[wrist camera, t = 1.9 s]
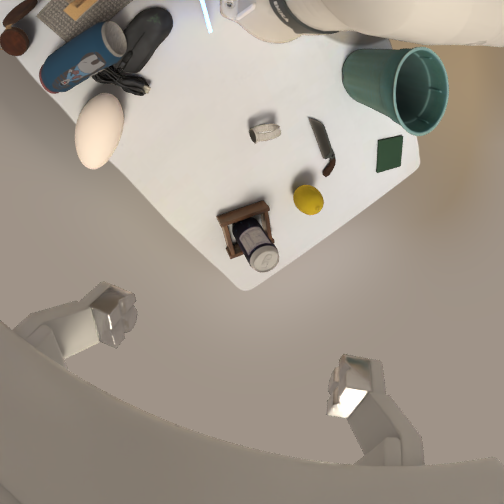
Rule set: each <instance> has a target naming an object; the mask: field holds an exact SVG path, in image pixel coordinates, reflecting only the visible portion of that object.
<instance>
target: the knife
mask: <svg viewBox="0 0 504 504" xmlns="http://www.w3.org/2000/svg"><path fill="white" fill-rule="evenodd" d="M309 121H310V123H311V126H312V129H313V131H314V134H315V137H316V140H317V142H318V145H319V148H320V151H321V154H322V157H323V158H324V159H327V158H330V163H329V165H328V166H327V167H326V168H325V169H324V171H323V175H324V176H325V177H327V176H328V175H330V173H331V172H332V170H333V168H334V166H335V162H336V160H335V154H334V152H333V150H332V148H331V145H330V141H329V138H328V135H327V133H326V130H325V127H324V125H323V124H322V123H321V122H319V121H316V120H314V119H309ZM331 154H333V155H332V156H331Z"/></svg>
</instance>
